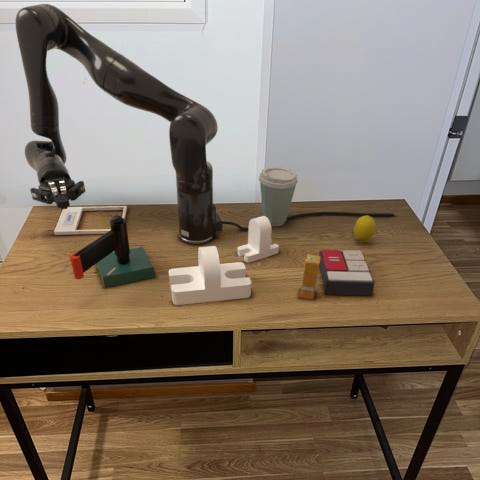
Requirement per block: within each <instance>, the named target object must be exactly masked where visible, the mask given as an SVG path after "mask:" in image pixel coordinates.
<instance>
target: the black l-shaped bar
mask: <svg viewBox="0 0 480 480" xmlns="http://www.w3.org/2000/svg"><path fill="white" fill-rule="evenodd" d="M109 227H110V229H111V230H110V231H109V232H107V233H105V234H101V236H99V237H98V238H96V239H95V240H93V241H92V242H91V243H88V244H87V245H85V246H84V247H82V248H81V249H79V250H78V251H77V252H75V253H72V254H70V255H69V259H70V264H71V268H72V269H71V270H72V273H73V277H74V279H75V280H82V279H83V278H85V275H84V273H86V271H88V270H90V269H91V268H92V267H94V266H96V263H98V262H99V261H101V260H102V259H104V258H105V257H106V256H108V255H109V254H111V253H112V252H114V253H115V255H116V256H118V257H124V256H127V255H129V254H130V249H131V248H130V242H129V234H128V226H127V220H126V218H125V219H124V218H122V215H120V214H115V215H114V216H112V218H111V219H110V220H109Z"/></svg>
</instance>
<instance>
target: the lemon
mask: <svg viewBox="0 0 480 480" xmlns="http://www.w3.org/2000/svg"><path fill="white" fill-rule="evenodd" d="M376 228H377V227H376V221H375V219H374V218H373V217H372V216H369V215H366V216H365V215H361V216H359V218H358V219H357V220H356V222H355V224H354V227H353V234H354V237H355V239H357V241H359V242H360V243H365V242H368V241H370V240H372V238H374V235H375V232H376Z"/></svg>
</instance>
